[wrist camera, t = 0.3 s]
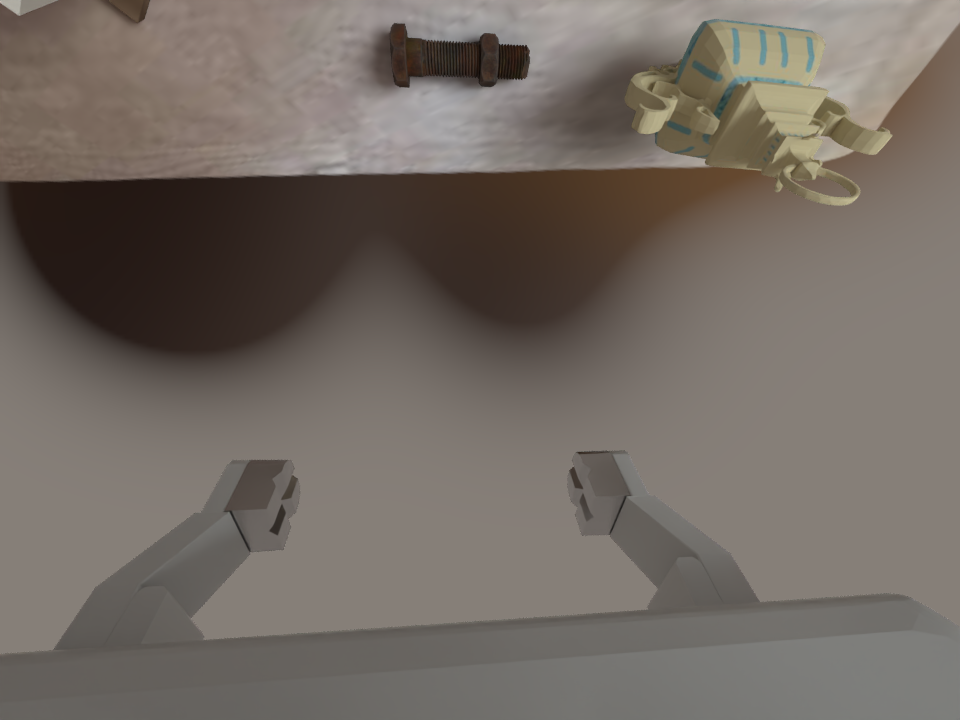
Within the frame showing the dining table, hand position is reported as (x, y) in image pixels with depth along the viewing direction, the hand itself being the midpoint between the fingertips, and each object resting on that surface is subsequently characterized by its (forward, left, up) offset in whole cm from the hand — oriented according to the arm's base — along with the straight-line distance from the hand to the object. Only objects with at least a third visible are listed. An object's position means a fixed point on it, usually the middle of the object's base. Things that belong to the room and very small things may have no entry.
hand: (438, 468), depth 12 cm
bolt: (+2, +3, -52) cm, 52 cm away
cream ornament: (-17, +23, -52) cm, 59 cm away
